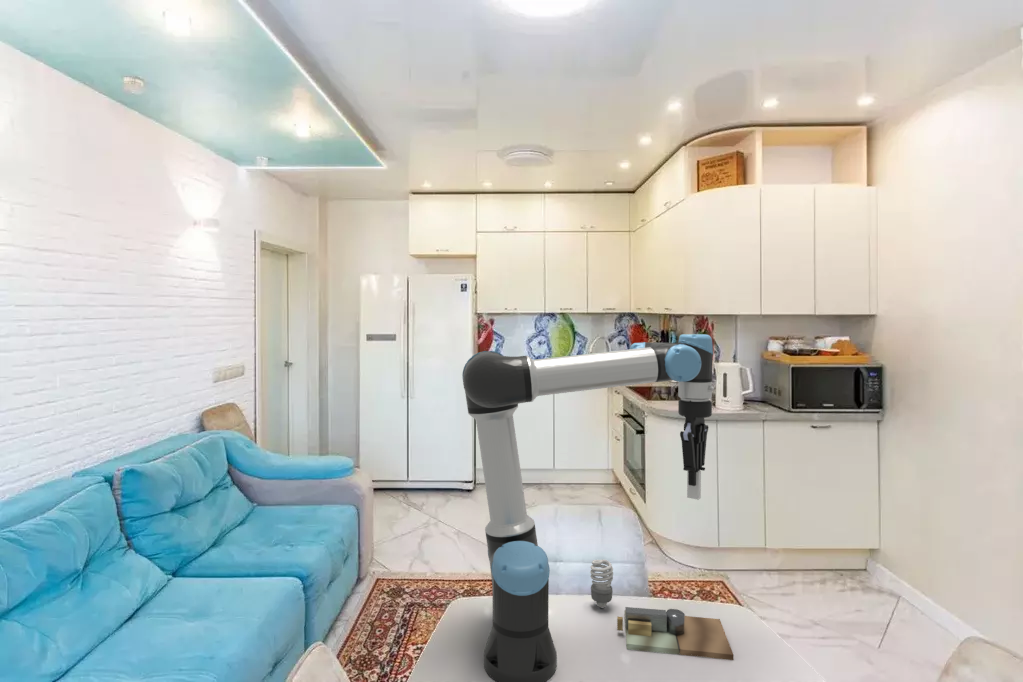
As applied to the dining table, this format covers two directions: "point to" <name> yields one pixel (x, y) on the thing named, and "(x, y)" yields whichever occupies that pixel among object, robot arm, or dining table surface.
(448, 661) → the dining table surface
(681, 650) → the door board
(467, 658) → the dining table surface
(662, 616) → the bar
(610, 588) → the light bulb
